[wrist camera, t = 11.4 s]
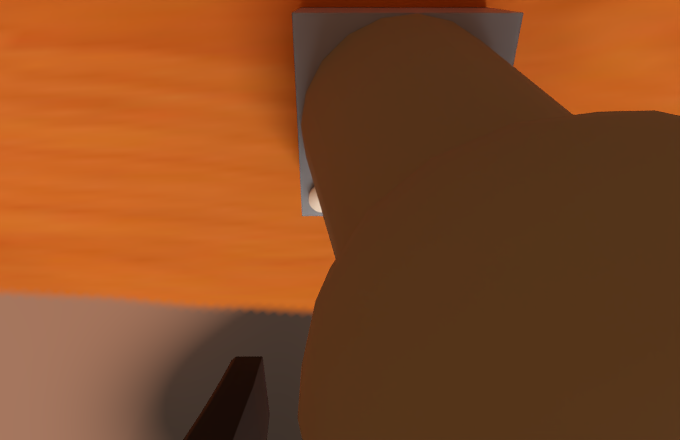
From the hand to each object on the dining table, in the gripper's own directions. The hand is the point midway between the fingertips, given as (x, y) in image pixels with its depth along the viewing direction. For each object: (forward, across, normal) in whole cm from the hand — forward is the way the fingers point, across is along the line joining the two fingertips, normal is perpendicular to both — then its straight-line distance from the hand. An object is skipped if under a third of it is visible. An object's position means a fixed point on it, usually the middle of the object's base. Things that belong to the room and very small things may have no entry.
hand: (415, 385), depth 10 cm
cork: (+6, 0, -5) cm, 7 cm away
